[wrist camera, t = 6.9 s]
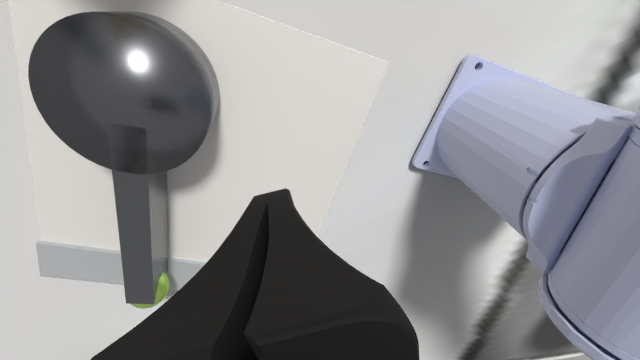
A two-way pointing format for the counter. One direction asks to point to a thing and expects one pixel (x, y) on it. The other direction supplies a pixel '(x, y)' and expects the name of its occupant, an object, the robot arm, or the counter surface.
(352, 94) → the stand
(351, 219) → the counter surface
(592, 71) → the counter surface
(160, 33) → the dark round paddle
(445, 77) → the counter surface
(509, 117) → the robot arm
